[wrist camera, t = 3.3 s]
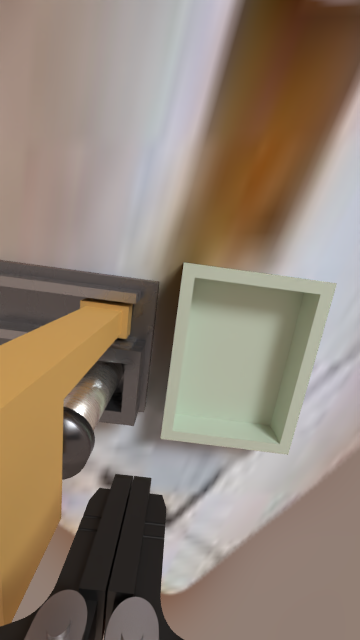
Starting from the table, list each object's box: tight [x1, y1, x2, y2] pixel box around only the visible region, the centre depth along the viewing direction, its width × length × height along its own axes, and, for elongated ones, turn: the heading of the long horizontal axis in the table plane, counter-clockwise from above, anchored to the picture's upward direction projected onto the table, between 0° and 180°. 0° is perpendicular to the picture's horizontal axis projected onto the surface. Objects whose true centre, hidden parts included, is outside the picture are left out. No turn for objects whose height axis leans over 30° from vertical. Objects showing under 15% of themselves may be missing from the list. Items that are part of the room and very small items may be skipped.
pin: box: [62, 360, 123, 480], centre depth 18 cm, size 4×4×10 cm
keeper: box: [0, 298, 133, 626], centre depth 15 cm, size 9×4×16 cm, turn 172°
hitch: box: [0, 260, 159, 426], centre depth 22 cm, size 13×15×4 cm
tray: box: [160, 263, 336, 455], centre depth 22 cm, size 16×12×3 cm
